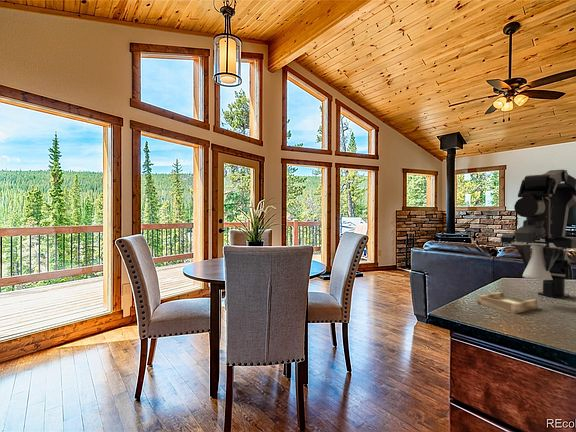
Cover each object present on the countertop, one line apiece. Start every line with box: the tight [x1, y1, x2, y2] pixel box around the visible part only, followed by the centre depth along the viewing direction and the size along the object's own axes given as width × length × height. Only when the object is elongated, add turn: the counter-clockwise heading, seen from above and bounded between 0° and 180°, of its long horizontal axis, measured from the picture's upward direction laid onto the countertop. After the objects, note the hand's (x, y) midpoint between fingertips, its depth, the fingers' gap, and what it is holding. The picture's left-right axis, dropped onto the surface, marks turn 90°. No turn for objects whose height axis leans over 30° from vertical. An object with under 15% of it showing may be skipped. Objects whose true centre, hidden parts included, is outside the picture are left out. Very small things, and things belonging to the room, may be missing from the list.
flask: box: [522, 244, 553, 281], centre depth 99 cm, size 7×7×10 cm
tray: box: [477, 291, 538, 314], centre depth 98 cm, size 11×10×2 cm
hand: (537, 269), depth 99 cm, fingers closed on flask, 5 cm apart
